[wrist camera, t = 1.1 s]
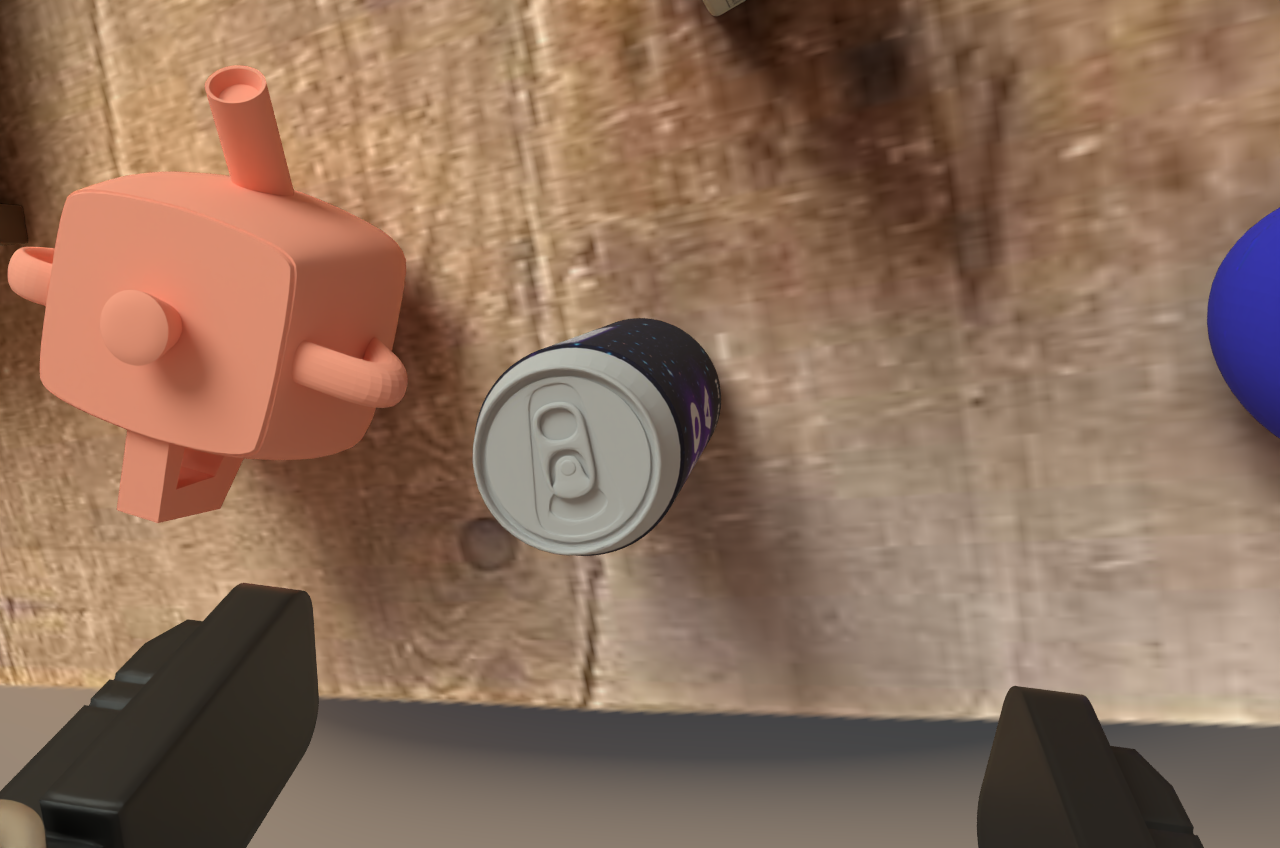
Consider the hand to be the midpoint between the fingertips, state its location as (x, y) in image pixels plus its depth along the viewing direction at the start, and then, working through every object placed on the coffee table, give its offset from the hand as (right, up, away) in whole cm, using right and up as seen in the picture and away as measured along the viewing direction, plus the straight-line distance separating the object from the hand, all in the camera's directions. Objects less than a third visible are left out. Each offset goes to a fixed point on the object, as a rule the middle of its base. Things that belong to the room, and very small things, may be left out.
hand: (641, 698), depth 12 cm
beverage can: (0, +4, +25) cm, 26 cm away
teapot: (-12, +8, +27) cm, 31 cm away
